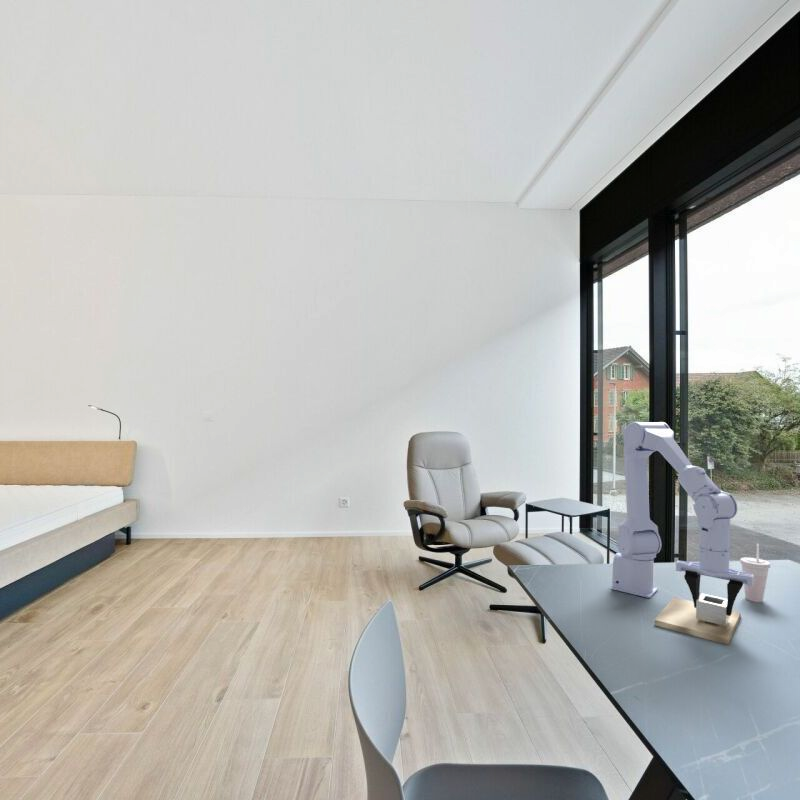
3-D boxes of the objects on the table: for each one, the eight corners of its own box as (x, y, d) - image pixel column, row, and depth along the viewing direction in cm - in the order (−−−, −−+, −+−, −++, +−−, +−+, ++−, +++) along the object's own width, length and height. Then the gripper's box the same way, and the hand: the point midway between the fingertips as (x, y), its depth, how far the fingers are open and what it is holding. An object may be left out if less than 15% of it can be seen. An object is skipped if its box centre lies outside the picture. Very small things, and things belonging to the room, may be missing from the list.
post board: (654, 625, 118) (655, 601, 118) (673, 601, 132) (674, 580, 132) (728, 644, 109) (729, 619, 109) (740, 617, 123) (741, 595, 123)
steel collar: (695, 618, 117) (696, 600, 117) (700, 610, 121) (701, 593, 121) (725, 626, 113) (726, 607, 113) (729, 617, 118) (730, 599, 118)
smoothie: (774, 605, 131) (776, 548, 131) (745, 602, 132) (746, 546, 132) (762, 595, 137) (763, 541, 137) (734, 593, 139) (736, 539, 138)
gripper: (673, 545, 118) (671, 606, 118) (751, 559, 109) (749, 625, 109) (680, 539, 124) (679, 597, 124) (755, 551, 115) (753, 615, 115)
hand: (712, 610), depth 117 cm, fingers closed on steel collar, 5 cm apart
